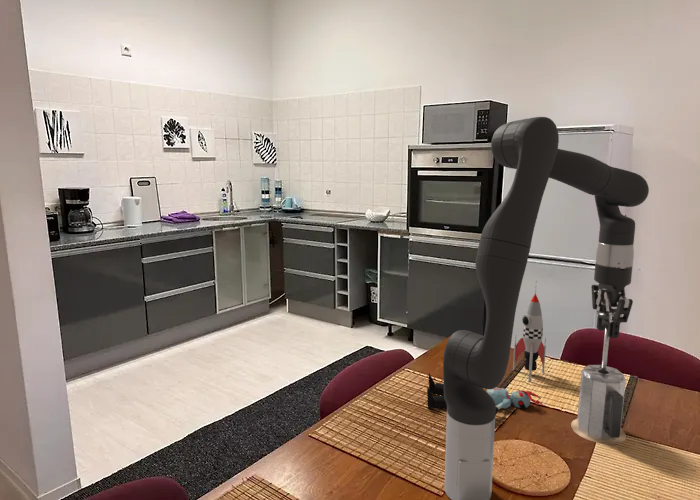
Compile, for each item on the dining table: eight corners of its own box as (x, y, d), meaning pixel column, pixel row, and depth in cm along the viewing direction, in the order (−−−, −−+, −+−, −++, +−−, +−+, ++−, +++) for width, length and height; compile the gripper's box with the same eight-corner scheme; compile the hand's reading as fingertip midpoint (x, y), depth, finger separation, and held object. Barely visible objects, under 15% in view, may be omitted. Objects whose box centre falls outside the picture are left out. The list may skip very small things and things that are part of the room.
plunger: (622, 392, 114) (630, 317, 111) (595, 392, 114) (602, 317, 111) (608, 380, 121) (615, 309, 117) (582, 380, 121) (588, 309, 117)
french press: (634, 447, 112) (641, 385, 110) (593, 447, 112) (599, 386, 110) (607, 420, 124) (613, 363, 121) (570, 420, 124) (574, 364, 121)
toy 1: (429, 360, 148) (534, 362, 142) (430, 383, 150) (534, 387, 144) (425, 400, 124) (551, 405, 118) (426, 428, 125) (551, 434, 119)
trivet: (636, 446, 114) (636, 443, 114) (585, 446, 114) (585, 444, 114) (609, 419, 126) (609, 417, 125) (562, 419, 126) (562, 417, 125)
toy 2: (510, 369, 155) (516, 277, 149) (533, 366, 158) (539, 275, 152) (529, 382, 147) (535, 285, 141) (552, 378, 149) (559, 282, 144)
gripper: (582, 256, 119) (577, 323, 122) (614, 269, 105) (607, 345, 108) (613, 256, 119) (607, 323, 122) (649, 269, 105) (641, 344, 108)
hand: (607, 333), depth 115 cm, fingers closed on plunger, 4 cm apart
